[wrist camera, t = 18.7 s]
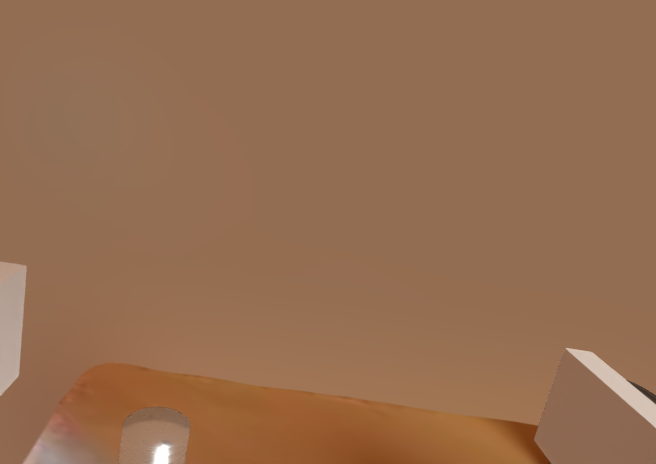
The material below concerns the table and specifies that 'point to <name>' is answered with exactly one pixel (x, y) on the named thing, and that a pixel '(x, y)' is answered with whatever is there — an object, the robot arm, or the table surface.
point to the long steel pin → (154, 437)
